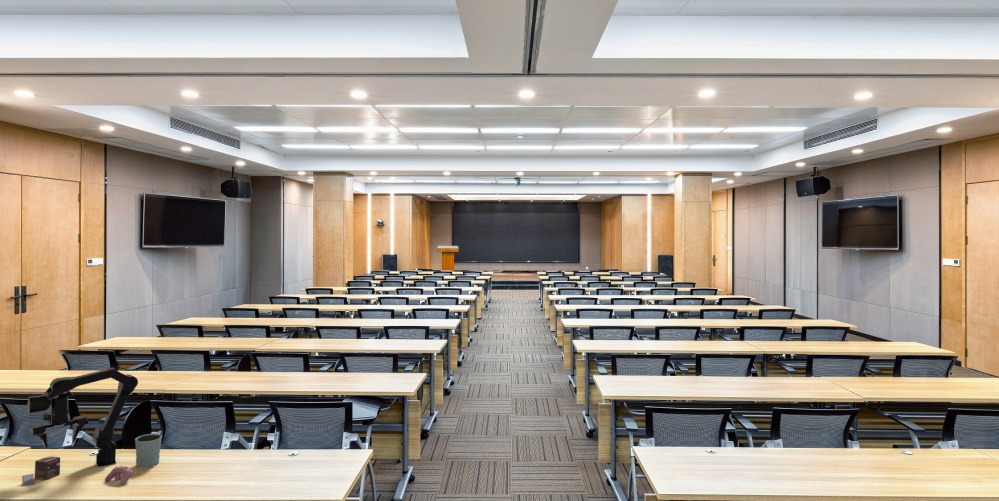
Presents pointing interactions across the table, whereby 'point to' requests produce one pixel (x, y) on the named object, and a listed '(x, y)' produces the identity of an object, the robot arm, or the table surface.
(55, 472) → the box
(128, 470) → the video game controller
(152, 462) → the grey cup
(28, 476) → the grey flat bar
